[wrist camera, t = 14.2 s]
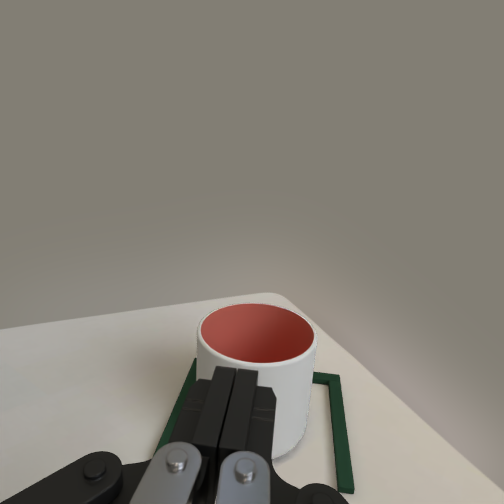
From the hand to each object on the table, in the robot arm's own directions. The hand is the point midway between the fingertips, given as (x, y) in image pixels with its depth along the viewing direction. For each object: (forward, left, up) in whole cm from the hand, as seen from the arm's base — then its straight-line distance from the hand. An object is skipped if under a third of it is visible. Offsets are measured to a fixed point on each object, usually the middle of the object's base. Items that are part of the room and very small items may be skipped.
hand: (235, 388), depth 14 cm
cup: (-1, +18, -19) cm, 26 cm away
